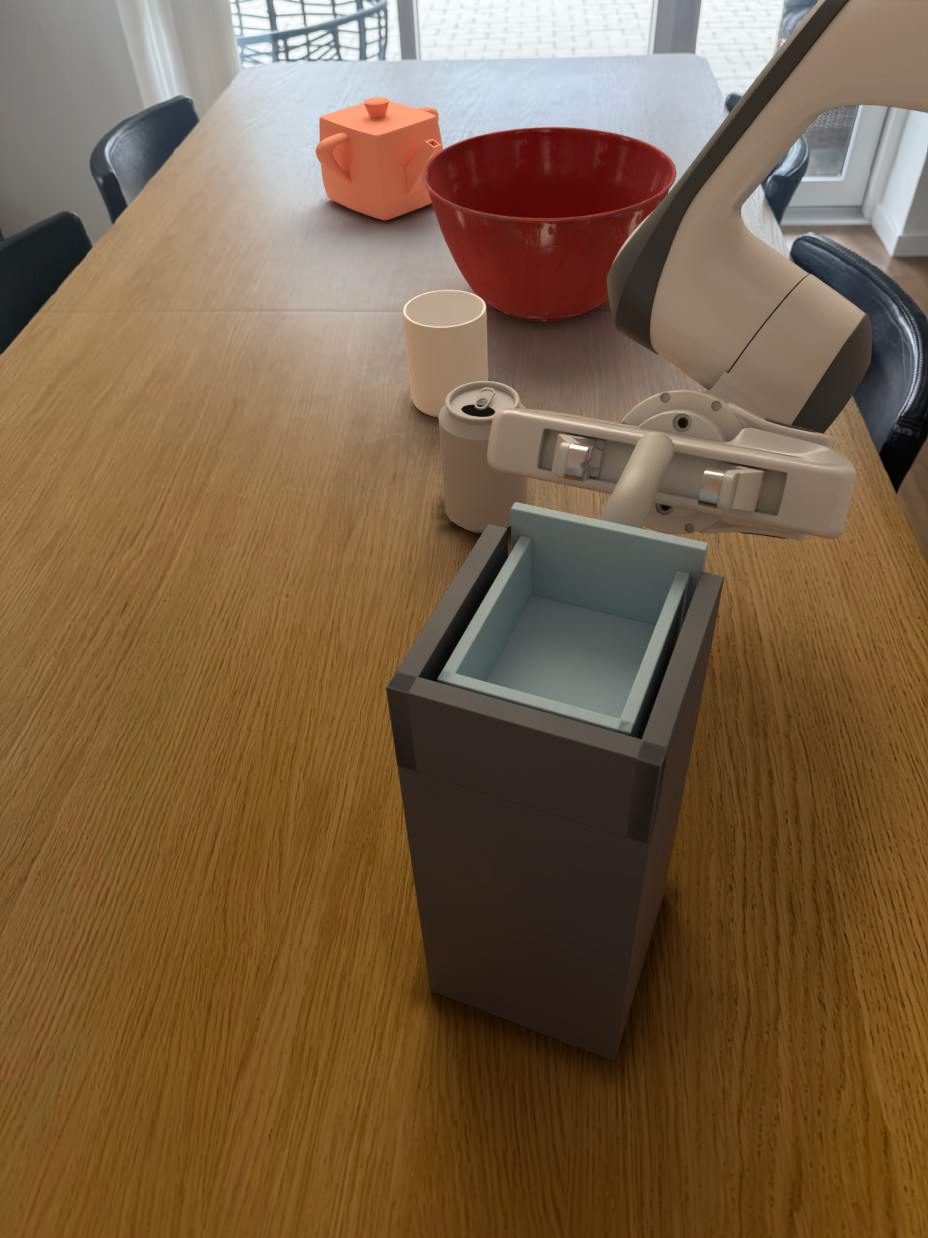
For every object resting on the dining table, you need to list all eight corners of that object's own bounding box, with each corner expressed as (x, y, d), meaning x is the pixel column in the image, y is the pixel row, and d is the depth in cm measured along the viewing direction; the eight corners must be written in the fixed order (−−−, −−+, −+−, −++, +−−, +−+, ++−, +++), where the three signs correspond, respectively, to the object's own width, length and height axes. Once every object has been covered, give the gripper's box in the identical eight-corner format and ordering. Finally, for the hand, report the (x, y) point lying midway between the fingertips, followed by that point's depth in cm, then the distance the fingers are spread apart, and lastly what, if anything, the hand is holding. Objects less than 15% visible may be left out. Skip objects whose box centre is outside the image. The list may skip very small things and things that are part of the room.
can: (432, 529, 87) (422, 413, 78) (463, 482, 92) (457, 368, 83) (511, 546, 85) (509, 428, 76) (538, 497, 90) (539, 382, 81)
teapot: (296, 209, 143) (280, 107, 134) (409, 169, 154) (401, 71, 144) (381, 246, 132) (370, 137, 123) (496, 200, 143) (494, 96, 133)
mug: (440, 358, 109) (434, 270, 102) (509, 368, 107) (508, 278, 100) (399, 413, 101) (389, 321, 94) (473, 425, 99) (469, 332, 92)
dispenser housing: (664, 893, 60) (724, 575, 42) (614, 1062, 52) (661, 766, 34) (498, 838, 63) (487, 523, 45) (429, 991, 56) (385, 687, 38)
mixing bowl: (707, 284, 120) (724, 152, 109) (572, 379, 105) (577, 237, 94) (526, 232, 134) (526, 111, 123) (384, 310, 118) (370, 179, 108)
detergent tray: (734, 513, 52) (751, 424, 49) (634, 803, 39) (647, 712, 35) (575, 481, 55) (579, 394, 51) (431, 742, 42) (422, 651, 38)
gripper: (534, 384, 63) (458, 378, 51) (861, 440, 57) (869, 449, 44) (517, 480, 65) (440, 497, 52) (834, 544, 59) (834, 581, 46)
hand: (640, 476), depth 48 cm, fingers open, 6 cm apart
